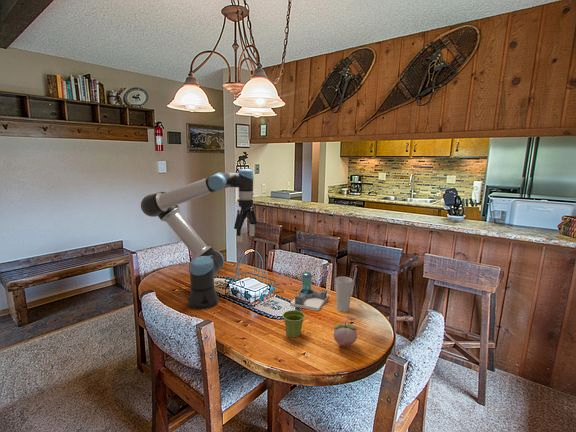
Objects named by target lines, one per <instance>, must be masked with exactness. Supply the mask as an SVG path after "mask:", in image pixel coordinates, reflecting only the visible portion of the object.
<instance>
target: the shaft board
mask: <svg viewBox="0 0 576 432" xmlns="http://www.w3.org/2000/svg"><path fill="white" fill-rule="evenodd" d="M329 295H330V294H329V293H328V290H327V289H323V290H322V291H318V290H317V291H316V290H314V289H312V288H311V294H305V293H302V288H301V289H299V290H298V293H297V294H296V295H295V296H294V298H293V299H292V300H291V301H290V305H289V306H291V307H295V308H301V309H304V310H305V309H306V310H310V311H317V312H320V310H321V309H322V307H323V306H324V304H325V303H326V301H327V300H328V298H329Z"/></svg>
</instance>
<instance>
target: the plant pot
mask: <svg viewBox="0 0 576 432" xmlns="http://www.w3.org/2000/svg"><path fill="white" fill-rule="evenodd" d="M305 317H306V315H305V313H304V312H303V311H299V310H295V309H294V310H293V309H292V310H287V311H285V312H283V314H282V318H283V320H284V325H285V326H284V327H285V332H286V333H285V334H286V336H287V337H290V338H298V337H300V336H301V334H302V327H303V323H304V319H305Z"/></svg>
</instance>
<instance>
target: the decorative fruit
mask: <svg viewBox="0 0 576 432" xmlns="http://www.w3.org/2000/svg"><path fill="white" fill-rule="evenodd" d="M332 329H334V330H333V339H334V341H335V342H336V343H337V344H338V345H340V346H342V347H350V346H351V345H353V344H354V343H355V342H356V341H357V339H358V334H357V331H356V330H358V328H357V327H356V326H354V325H353V324H348V323H345V322H344V323H340V324H337V325H335V326H334V327H333V328H332Z"/></svg>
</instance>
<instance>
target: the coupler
mask: <svg viewBox="0 0 576 432" xmlns="http://www.w3.org/2000/svg"><path fill="white" fill-rule="evenodd" d="M301 289H302V293H305V294H311V289H312V272H310V271H305V272H302V273H301Z"/></svg>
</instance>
